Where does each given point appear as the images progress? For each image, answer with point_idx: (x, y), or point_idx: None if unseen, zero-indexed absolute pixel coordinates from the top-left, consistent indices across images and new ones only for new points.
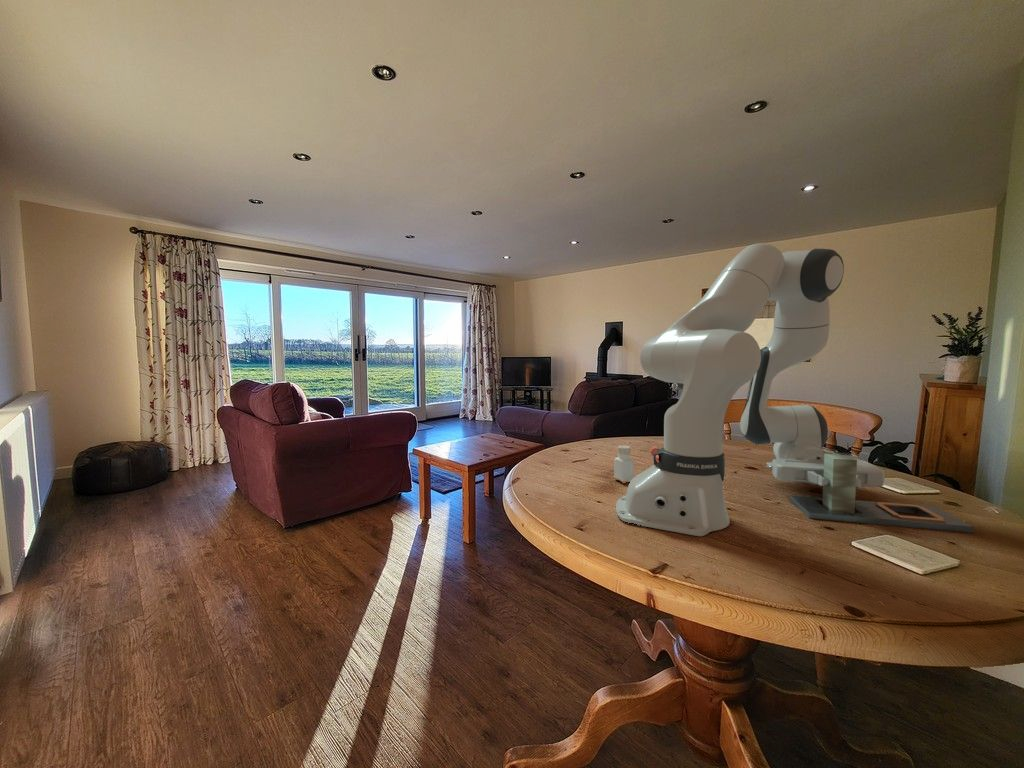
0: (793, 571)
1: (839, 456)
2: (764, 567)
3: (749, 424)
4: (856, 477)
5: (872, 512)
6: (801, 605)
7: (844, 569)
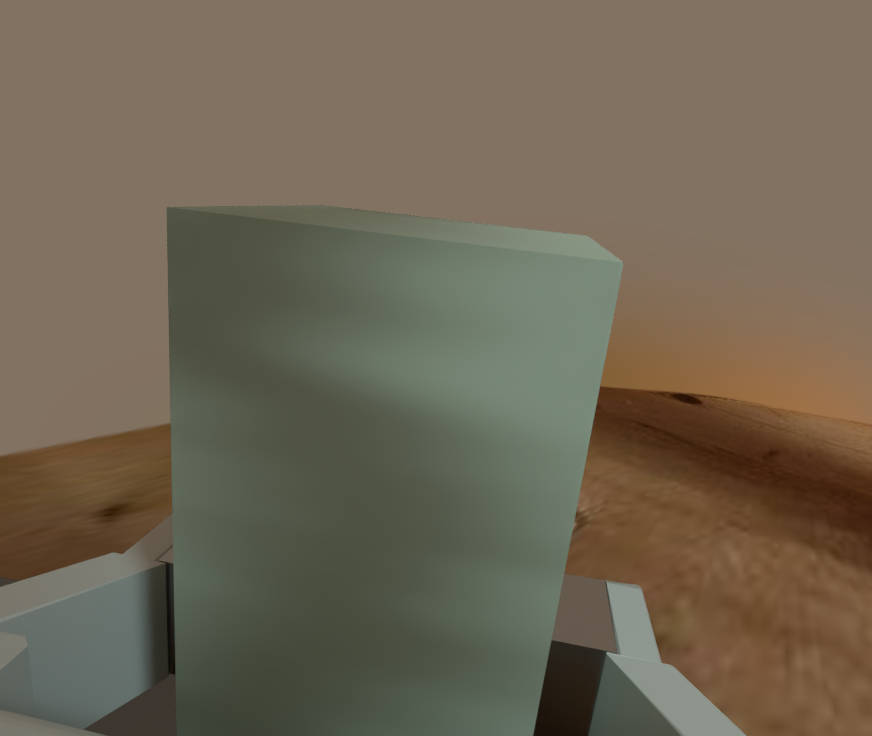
0: (793, 456)
1: (421, 225)
2: (868, 468)
3: None
4: (106, 559)
5: (149, 726)
6: (774, 409)
7: (661, 452)
